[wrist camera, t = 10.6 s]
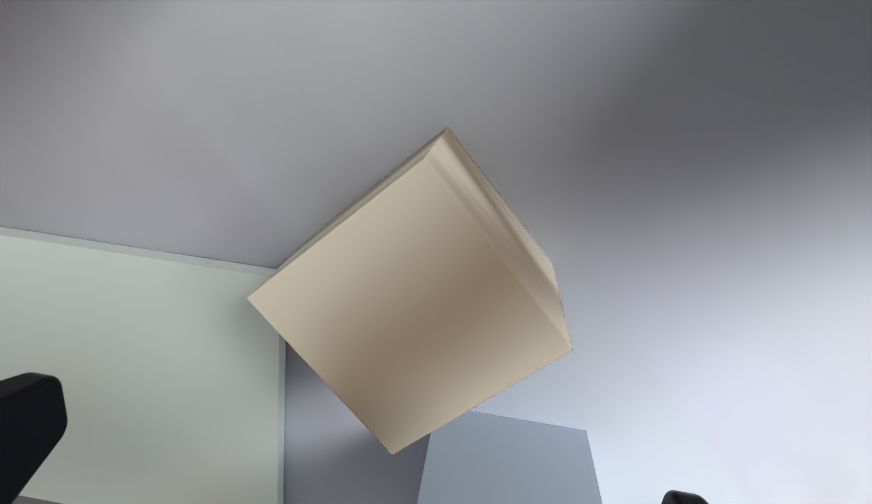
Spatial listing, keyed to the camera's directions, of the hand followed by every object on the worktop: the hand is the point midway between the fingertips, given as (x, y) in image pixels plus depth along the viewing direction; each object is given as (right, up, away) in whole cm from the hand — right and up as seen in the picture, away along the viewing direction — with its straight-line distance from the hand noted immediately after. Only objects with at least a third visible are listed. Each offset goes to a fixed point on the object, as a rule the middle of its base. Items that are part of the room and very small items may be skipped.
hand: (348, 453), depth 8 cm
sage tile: (-9, -2, +11) cm, 15 cm away
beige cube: (+1, +3, +8) cm, 9 cm away
